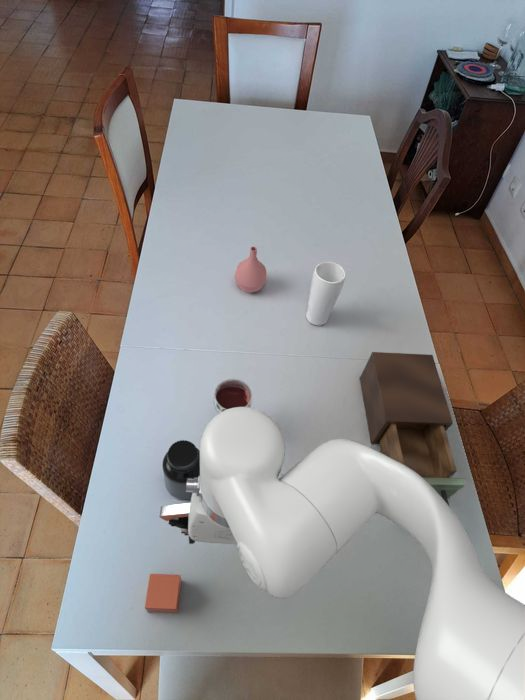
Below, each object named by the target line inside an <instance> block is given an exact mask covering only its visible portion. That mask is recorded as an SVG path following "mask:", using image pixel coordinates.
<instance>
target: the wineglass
mask: <svg viewBox="0 0 525 700" xmlns="http://www.w3.org/2000/svg"><path fill="white" fill-rule="evenodd" d="M213 396H214V397H213V407H214V409H215V410H216V413H217V414H219V413H221V412H223V411H225V410H227V409H231V408H235V407H249V408H252V401H253V392H252V389H251V387H250V386H249V385H248V384H247V383H246V382H245V381H243V380H241V379H238V378H228V379H225V380H223V381H220V383H218V384H217V385H216V388H214V393H213Z"/></svg>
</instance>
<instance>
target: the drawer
mask: <svg viewBox="0 0 525 700" xmlns="http://www.w3.org/2000/svg"><path fill="white" fill-rule="evenodd" d="M379 442H380V444H379V447H380V453H382V454H384V455H386V456H388V457H390V458H392V459H394V460H395V461H398V462H399V463H401V464H403V465H405V466H407V467H408V468H410V469H411V470H413V471H415V472H416V473H417V474H419V475H420V476H421V477H422V478H423V479H425V480H426V481H427V482H428V483H429V484H430V485H431V486H432V487H433V488H434V489H435V490H436V492H437V493H438V494H439V495H440V496H441V497H442V498H443V499H444V501H445V502H446V503H447V504H448V505H449V507H450V508H451V506H450V503H449V499H450V498H451V497H452V496H454V495H455V494H456V493H457V492H459V491H460V490H461V489H463V488H464V487H465V486H466V481H465V478H462V477H452V476H453V475H454V474H455V473H457V472H458V470H457V467H456V463H455V460H454V456H453V452H452V449H451V446H450V443H449V438H448V436H447V431H446V432H445V428H444V425H428V424H397V423H389V424H388V426H387V427H386V429H385V430H384V432H383V433H382V435H381V436H380V438H379Z"/></svg>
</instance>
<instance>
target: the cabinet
mask: <svg viewBox="0 0 525 700" xmlns="http://www.w3.org/2000/svg"><path fill="white" fill-rule="evenodd" d="M359 383H360V389H361V395H362V401H363V405H364V406H363V407H364V412H365V417H366V424H367V428H368V433H369V434H368V435H369V440H370V444H371V445H380V442H379V438H380V436H381V435H382V433H383V432H384V430H385V429H386V427H387V426H388V424H389V423H397V424H428V425H444V428H445V432H446V433H447V431H448V429H450V428H451V426H453V424H454V421H453V419H452V415H451V413H450V412H451V411H450V408H449V404H448V402H447V398H446V395H445V391H444V388H443V384H442V381H441V378H440V375H439V371H438V368H437V365H436V362H435V358H434V355H433V354H426V353H424V354H422V353H401V352H384V351H383V352H381V351H372V352H371V354H370V356H369V358H368V360H367V363H366V364H365V366H364V368H363V370H362V372H361V374H360V377H359Z"/></svg>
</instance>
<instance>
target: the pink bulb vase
mask: <svg viewBox="0 0 525 700" xmlns="http://www.w3.org/2000/svg"><path fill="white" fill-rule="evenodd" d="M257 254H258V248H257V247H256V246H251V247H250V250H249V255H248V257H247V258H246V259H244V260H242V261H241V262H239V263H238V264H237V266H236V270H235V271H234V279H235V282H236V284H237V287H238V288H239V289H240V290H241V291H243V292H246V293H256V292H259V291H261V290H262V288H263V287H264V285H265V283H266V282H267V279H268V274H267V268H266V266H265V265H264V264H263V262H261V261H260V260H259V258H258V256H257Z"/></svg>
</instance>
